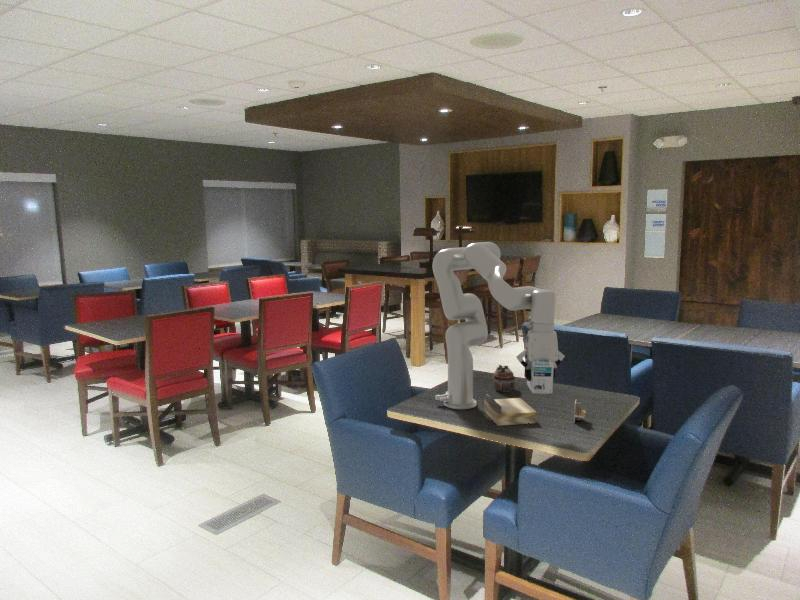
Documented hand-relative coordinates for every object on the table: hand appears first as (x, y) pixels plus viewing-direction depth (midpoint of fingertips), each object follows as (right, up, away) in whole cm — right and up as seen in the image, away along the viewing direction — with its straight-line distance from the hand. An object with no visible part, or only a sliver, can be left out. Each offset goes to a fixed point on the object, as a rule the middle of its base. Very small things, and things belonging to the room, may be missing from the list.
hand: (539, 379), depth 195 cm
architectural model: (+16, -17, +12) cm, 26 cm away
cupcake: (-3, -11, +49) cm, 51 cm away
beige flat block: (-7, -16, +17) cm, 24 cm away
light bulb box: (0, -4, +1) cm, 4 cm away
